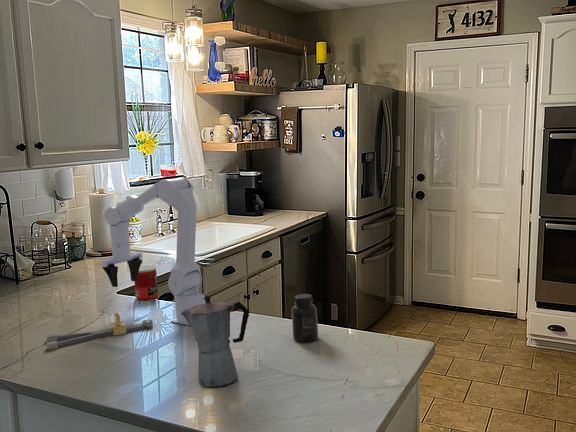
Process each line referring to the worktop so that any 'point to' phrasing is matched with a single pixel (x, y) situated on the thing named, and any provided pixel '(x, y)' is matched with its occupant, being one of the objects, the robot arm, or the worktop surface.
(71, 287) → the worktop surface
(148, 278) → the canned food
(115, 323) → the collar
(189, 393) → the worktop surface
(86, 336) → the grey long bar part
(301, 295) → the supplement bottle
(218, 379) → the moka pot
